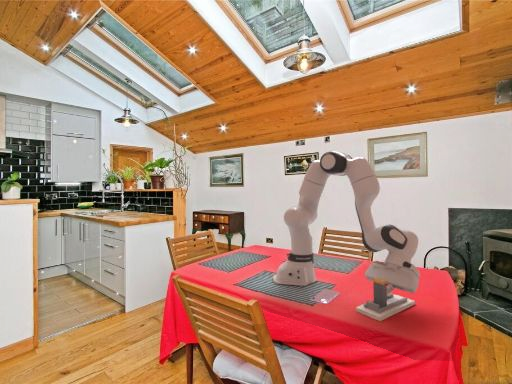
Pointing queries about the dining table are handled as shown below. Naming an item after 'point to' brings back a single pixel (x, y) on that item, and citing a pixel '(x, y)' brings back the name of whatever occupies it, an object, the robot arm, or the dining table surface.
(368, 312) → the switch plate
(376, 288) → the switch tab
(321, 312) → the dining table surface
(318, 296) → the mobile phone
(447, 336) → the dining table surface
